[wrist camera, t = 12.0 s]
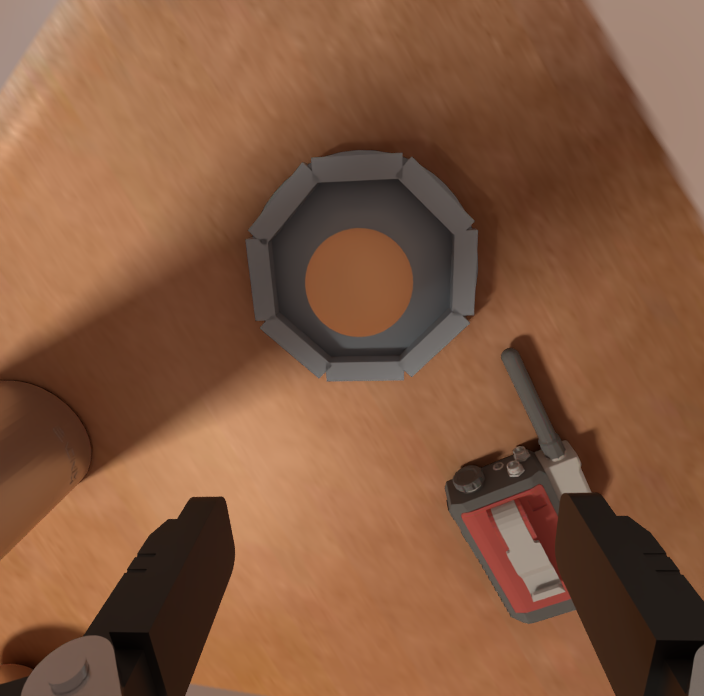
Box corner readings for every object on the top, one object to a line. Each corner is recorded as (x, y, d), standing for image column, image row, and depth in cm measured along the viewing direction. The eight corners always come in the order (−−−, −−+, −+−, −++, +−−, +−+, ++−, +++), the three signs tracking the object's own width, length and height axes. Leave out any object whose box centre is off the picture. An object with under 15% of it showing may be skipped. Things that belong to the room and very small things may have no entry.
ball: (317, 320, 27) (300, 353, 22) (310, 225, 25) (290, 236, 20) (410, 318, 26) (416, 351, 21) (410, 221, 24) (416, 231, 19)
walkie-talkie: (622, 564, 33) (518, 333, 27) (657, 620, 29) (542, 361, 23) (508, 602, 35) (389, 393, 29) (525, 659, 30) (390, 428, 25)
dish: (265, 376, 29) (258, 386, 27) (238, 157, 24) (229, 155, 23) (470, 372, 28) (475, 383, 26) (482, 144, 23) (488, 141, 22)
